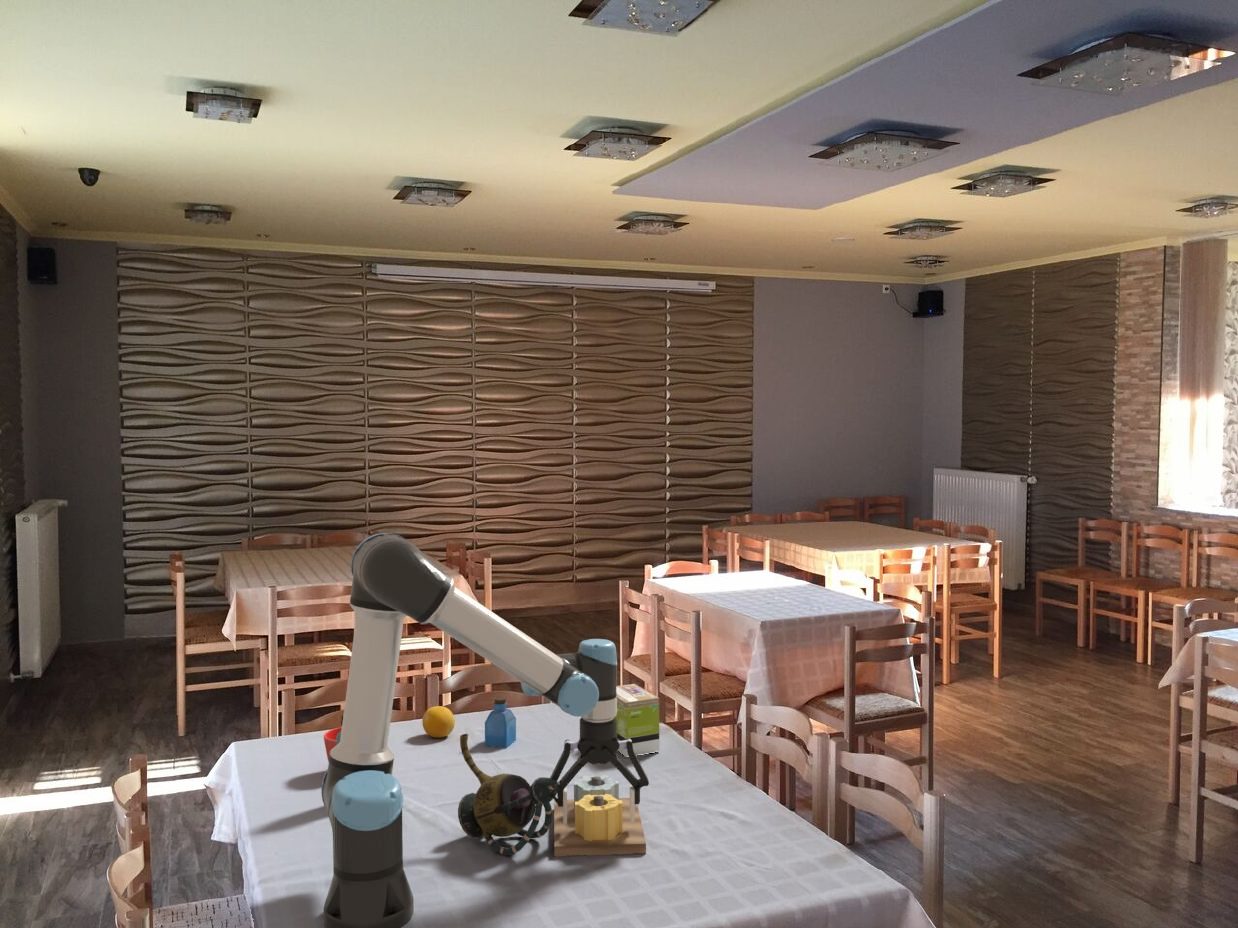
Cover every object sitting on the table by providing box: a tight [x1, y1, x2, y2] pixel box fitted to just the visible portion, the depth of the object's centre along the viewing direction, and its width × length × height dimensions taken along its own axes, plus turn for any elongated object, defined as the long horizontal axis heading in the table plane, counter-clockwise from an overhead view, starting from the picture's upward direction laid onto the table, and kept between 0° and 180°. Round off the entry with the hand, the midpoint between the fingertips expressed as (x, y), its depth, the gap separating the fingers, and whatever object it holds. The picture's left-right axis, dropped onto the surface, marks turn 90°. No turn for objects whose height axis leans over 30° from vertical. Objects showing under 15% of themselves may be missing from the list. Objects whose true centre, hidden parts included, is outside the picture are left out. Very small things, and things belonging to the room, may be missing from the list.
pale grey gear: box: [573, 774, 620, 812], centre depth 214 cm, size 10×9×6 cm
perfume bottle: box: [484, 696, 517, 749], centre depth 265 cm, size 6×6×12 cm
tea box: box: [615, 683, 661, 758], centre depth 261 cm, size 15×10×15 cm, turn 25°
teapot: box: [457, 733, 559, 856], centre depth 201 cm, size 12×25×23 cm
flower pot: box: [323, 726, 342, 763], centre depth 243 cm, size 11×11×10 cm
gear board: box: [553, 775, 647, 857], centre depth 208 cm, size 24×18×9 cm
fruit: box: [422, 705, 455, 739], centre depth 271 cm, size 9×8×8 cm
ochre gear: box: [575, 794, 622, 841], centre depth 203 cm, size 10×9×6 cm
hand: (598, 820), depth 203 cm, fingers open, 13 cm apart
